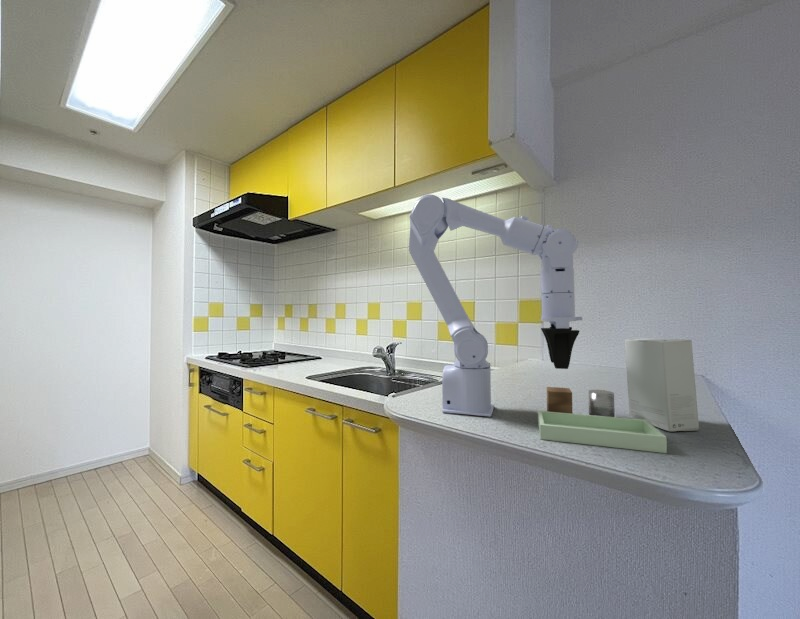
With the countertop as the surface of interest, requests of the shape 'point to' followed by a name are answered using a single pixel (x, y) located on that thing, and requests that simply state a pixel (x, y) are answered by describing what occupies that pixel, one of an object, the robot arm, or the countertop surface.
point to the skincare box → (662, 383)
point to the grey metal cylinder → (601, 403)
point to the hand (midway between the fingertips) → (559, 365)
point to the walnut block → (559, 400)
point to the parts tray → (601, 431)
